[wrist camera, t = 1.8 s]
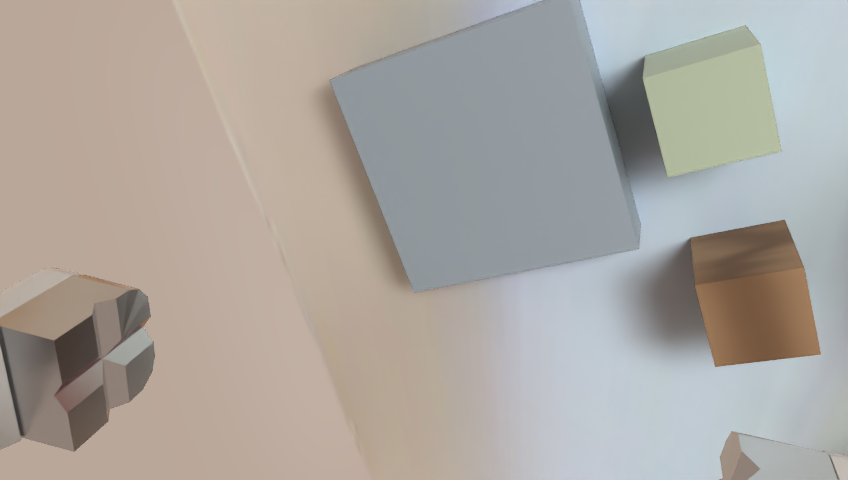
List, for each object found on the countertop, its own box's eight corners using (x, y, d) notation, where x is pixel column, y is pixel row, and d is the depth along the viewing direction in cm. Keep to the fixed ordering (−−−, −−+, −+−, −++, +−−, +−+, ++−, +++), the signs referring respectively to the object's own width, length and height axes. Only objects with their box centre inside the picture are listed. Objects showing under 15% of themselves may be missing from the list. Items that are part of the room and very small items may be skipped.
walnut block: (784, 219, 38) (804, 267, 33) (799, 297, 40) (820, 354, 34) (690, 237, 40) (694, 285, 35) (708, 310, 42) (715, 366, 36)
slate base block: (577, -13, 37) (568, -6, 33) (640, 221, 41) (639, 248, 37) (356, 67, 42) (329, 80, 39) (432, 264, 47) (413, 292, 43)
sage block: (745, 24, 35) (760, 43, 29) (764, 117, 36) (781, 151, 31) (645, 55, 37) (642, 78, 32) (666, 142, 38) (667, 177, 33)
